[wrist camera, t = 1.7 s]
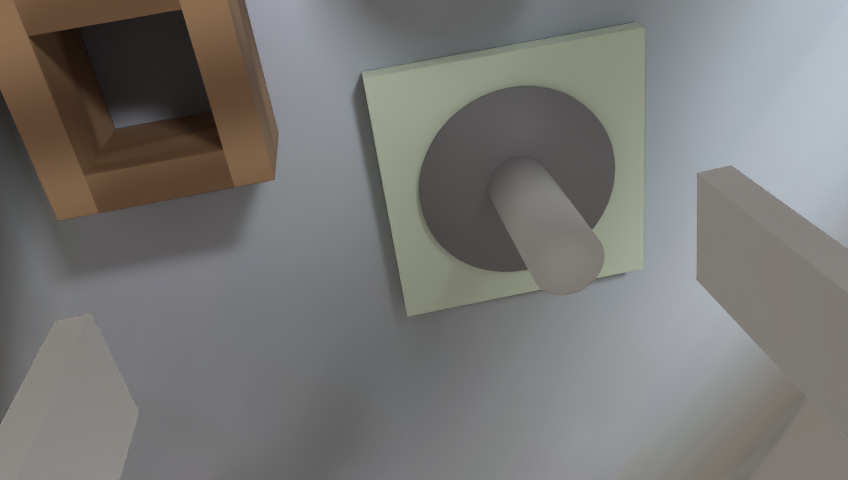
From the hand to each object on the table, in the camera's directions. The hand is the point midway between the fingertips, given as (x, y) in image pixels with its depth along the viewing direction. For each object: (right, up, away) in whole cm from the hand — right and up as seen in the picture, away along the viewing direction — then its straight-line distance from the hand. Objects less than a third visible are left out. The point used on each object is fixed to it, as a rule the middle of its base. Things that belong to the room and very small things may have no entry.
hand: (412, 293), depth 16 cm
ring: (-11, +8, +14) cm, 19 cm away
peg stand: (+4, +4, +18) cm, 19 cm away
